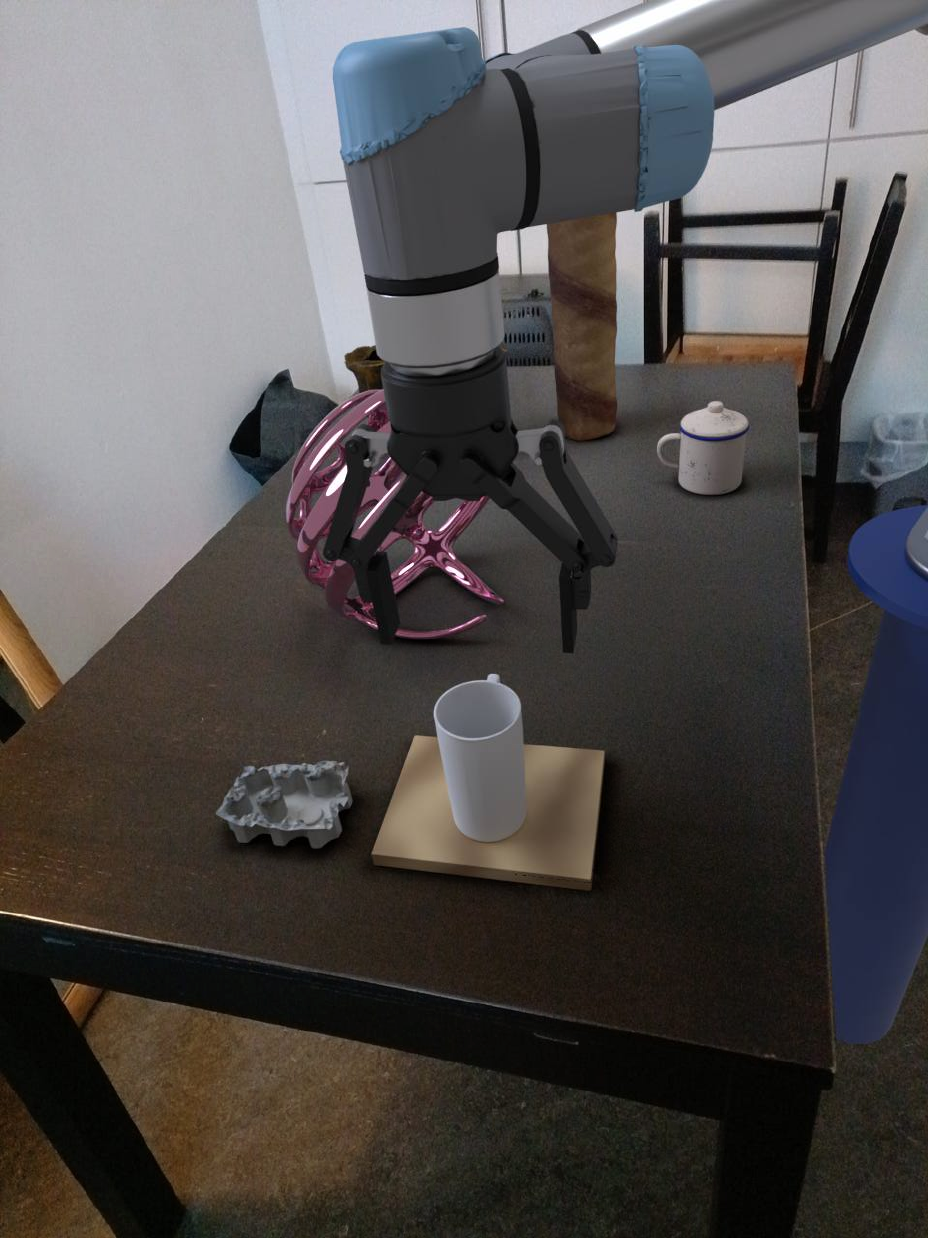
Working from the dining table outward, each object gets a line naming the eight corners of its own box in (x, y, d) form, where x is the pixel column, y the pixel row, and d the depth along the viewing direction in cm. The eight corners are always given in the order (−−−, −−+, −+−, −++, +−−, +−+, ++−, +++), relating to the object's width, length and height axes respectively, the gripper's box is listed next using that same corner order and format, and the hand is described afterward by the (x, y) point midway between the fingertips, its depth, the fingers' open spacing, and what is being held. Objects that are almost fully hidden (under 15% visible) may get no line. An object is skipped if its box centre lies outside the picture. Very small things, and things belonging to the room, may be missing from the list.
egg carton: (361, 791, 75) (353, 760, 73) (333, 858, 70) (323, 826, 67) (255, 779, 78) (245, 748, 76) (219, 842, 72) (206, 811, 70)
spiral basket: (628, 458, 81) (433, 281, 84) (432, 642, 71) (219, 434, 74) (552, 569, 107) (405, 430, 110) (400, 715, 97) (244, 558, 100)
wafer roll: (551, 418, 140) (538, 112, 114) (613, 413, 140) (615, 103, 113) (553, 444, 132) (541, 119, 106) (620, 438, 131) (624, 109, 105)
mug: (520, 851, 66) (510, 744, 59) (441, 839, 68) (422, 734, 61) (543, 761, 74) (536, 658, 67) (471, 753, 76) (457, 651, 69)
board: (604, 762, 75) (604, 750, 74) (591, 891, 64) (591, 879, 63) (416, 746, 79) (414, 735, 79) (373, 865, 68) (370, 854, 68)
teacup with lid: (740, 467, 119) (748, 389, 112) (745, 497, 112) (754, 415, 105) (655, 467, 122) (658, 391, 115) (655, 497, 115) (658, 417, 108)
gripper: (660, 322, 48) (652, 613, 61) (272, 341, 54) (337, 602, 67) (657, 368, 43) (648, 679, 55) (223, 383, 48) (304, 661, 61)
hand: (478, 638), depth 61 cm, fingers open, 13 cm apart
